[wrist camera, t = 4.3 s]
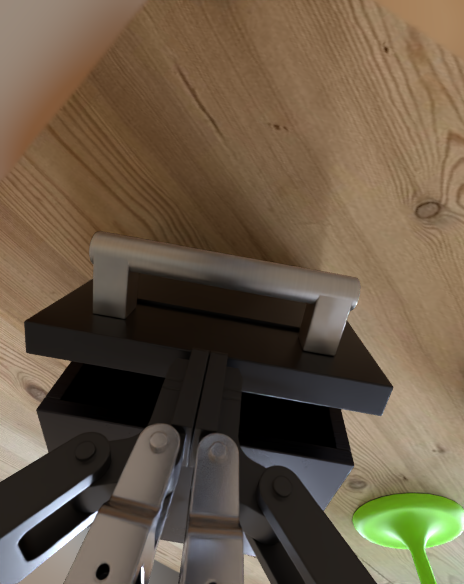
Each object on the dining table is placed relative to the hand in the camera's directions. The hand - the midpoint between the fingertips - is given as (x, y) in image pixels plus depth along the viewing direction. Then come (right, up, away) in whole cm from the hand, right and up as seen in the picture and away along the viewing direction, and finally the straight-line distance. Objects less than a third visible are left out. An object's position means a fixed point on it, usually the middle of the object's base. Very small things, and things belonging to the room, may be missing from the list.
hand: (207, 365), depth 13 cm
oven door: (+1, +6, +14) cm, 15 cm away
